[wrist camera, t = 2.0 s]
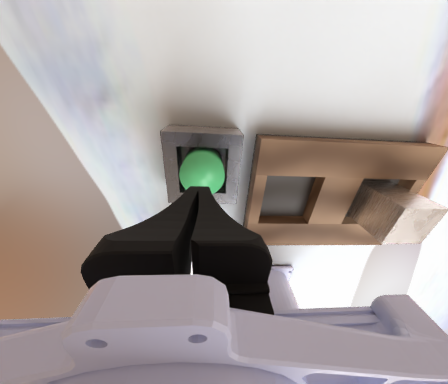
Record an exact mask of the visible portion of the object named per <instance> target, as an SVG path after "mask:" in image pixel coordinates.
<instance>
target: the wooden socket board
mask: <svg viewBox="0 0 448 384" xmlns="http://www.w3.org/2000/svg"><path fill="white" fill-rule="evenodd" d="M447 150H448V147H444V146H440V145H435V144H431V143H424V142H404V141H383V140H362V139H342V138H321V137H301V136H280V135H259V134H256V141H255V148H254V155H253V162H252V169H251V176H250V183H249V190H248V197H247V204H246V211H245V218H244V225H243V226H244V227H245V228H247V229H249V230H251V231H253V232H255V233H257V234H259V235H261V236H262V238H263V240H264V242H265V244H266V245H382V244H381V243H380V242H379V241H378V240H376V239H375V238H374V237H373V236H372V235H371V234H369V233H368V232H367V231H366V230H365V229H364V228H363V227H361V226H360V225H359V224H358V223H357V222H356V221H355V220H353V219H352V218H351V217H350V216H349V215H348V214H347V211H348V209H349V207H350V205H351V203H352V201H353V199H354V197H355V195H356V193H357V191H358V189H359V187H360V185H361V183H362V181H391V182H394V183H396V184H398V185H400V186H402V187H404V188H406V189H408V190H410V191H412V192H415V193H418V192H419V191H420V189H421V188H422V186H423V185H424V183H425V182H426V181H427V179H428V178H429V176H430V175H431V173H432V172H433V170H434V169H435V168H436V166H437V165H438V163H439V162H440V160H441V159H442V158H443V156H444V155H445V153H446V152H447Z"/></svg>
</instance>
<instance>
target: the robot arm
mask: <svg viewBox="0 0 448 384" xmlns="http://www.w3.org/2000/svg"><path fill="white" fill-rule="evenodd" d="M191 265H192V274H191ZM293 270H294V269H293V267H292V266H272V258H271V255H270V252H269V250H268V247H267V246H266V244H265V242H264V240H263V238H262V236H261V235H259V234H257V233H255V232H253V231H251V230H249V229H247V228H245V227H244V226H242V225H240V224H239V223H237V222H236V221H235V220H233V219H232V218H231V217H230V216H229V215H228V214H227V213H226V212H225V211H224V210H223V209H222V208H221V207H220V205H219V204H218V203H217V201H216V200H215V198H214V196H213V195H212V193H211V190H210V188H209V187H207V186H190V187H189V188H188V189H187V190H186V191H185V192H184V193H183V194H182V195H181V196H180V197H179V198H178V199H177V200H176V201H175V202H173V203H172V204H171V205H170V206H168V207H167V208H166V209H164V210H163V211H161V212H160V213H158V214H156V215H154V216H152V217H151V218H149V219H147V220H145V221H143V222H140V223H138V224H136V225H133V226H131V227H128V228H126V229H123V230H120V231H117V232H114V233H111V234H107V235H105V236H104V237H103V238H102V239H101V240H100V242H99V243H98V244H97V245H96V247H95V248H94V250H93V251H92V252H91V253H90V255H89V256H88V257H87V258H86V260H85V261H84V263H83V264H82V267H81V274H82V277H83V279H84V281H85V283H86V285H87V287H88V288H89V291H88V292H87V294H86V295H85V297H84V298H83V300H82V302H81V303H80V305H79V306H78V308H77V310H76V311H75V313H74V314H73V316H72V317H68V318H67V317H66V318H40V319H39V318H38V319H12V320H0V384H448V335H447V334H446V333H445V332H444V331H443V330H442V329H441V328H440V327H439V326H438V325H437V324H436V323H435V322H434V321H433V320H432V319H431V318H430V317H429V316H428V315H427V314H426V313H425V312H424V311H423V310H422V309H421V308H420V307H419V306H418V305H417V304H416V303H415V302H414V301H413V300H412V299H411V298H410V297H409V296H408V295H384V296H380V297H377V298H376V299H375V300H374V301H373V302H372V304H371V306H370V307H344V308H316V309H299V306H298V304H297V302H296V299H295V297H294V294H293V292H292V289H291V287H290V285H289V280H290V277H291V275H292V272H293Z"/></svg>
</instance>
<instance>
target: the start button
mask: <svg viewBox="0 0 448 384" xmlns="http://www.w3.org/2000/svg"><path fill="white" fill-rule="evenodd" d="M179 177H180V181H181V184H182V185H183V187H184V188H185V189H186V190H187V189H188V188H189V187H190V186H207V187H209V188H210V190H211V193H212V194H214V193H215V192H217V191H218V190H219V189H220V188H221V187H222V185H223V183H224V179H225V173H224V167H223V161H222V158H221V156H220V154H219V153H218V152H217V151H216V150H214V149H213V148H205V147H195V148H193V149H191V150H190V151H189V152H188V153H187V155H186V156H185V159H184V161H183V163H182V165H181V168H180V172H179Z"/></svg>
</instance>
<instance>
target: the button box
mask: <svg viewBox="0 0 448 384" xmlns="http://www.w3.org/2000/svg"><path fill="white" fill-rule="evenodd" d="M160 135H161V143H162V151H163V160H164V168H165V177H166V185H167V194H168V202H169V203H173V202H175V201H176V200H177V199H178V198H179V197H180V196H181V195H182V194H183V193H184V192H185V191H186V189H185V188H184V187H183V185H182V184H181V181H180V177H179V172H180V168H181V165H182V163H183V161H184V159H185V156H186V155H187V153H188V152H189V151H190V150H191V149H193V148H195V147H205V148H213V149H214V150H216V151H217V152H218V153H219V154H220V156H221V158H222V161H223V167H224V173H225V179H224V183H223V185H222V187H221V188H220V189H219V190H218V191H217V192H215V193H214V194H212V195H213V196H214V198H215V200H216V201H217V203H232V204H236V201H237V192H238V183H239V174H240V165H241V155H242V146H243V137H244V135H243V134H242V132H241V131H240V130H239V129H238V128H220V127H200V126H180V125H168V126H167V127H166V128H164V129H163V130H161V131H160Z"/></svg>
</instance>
